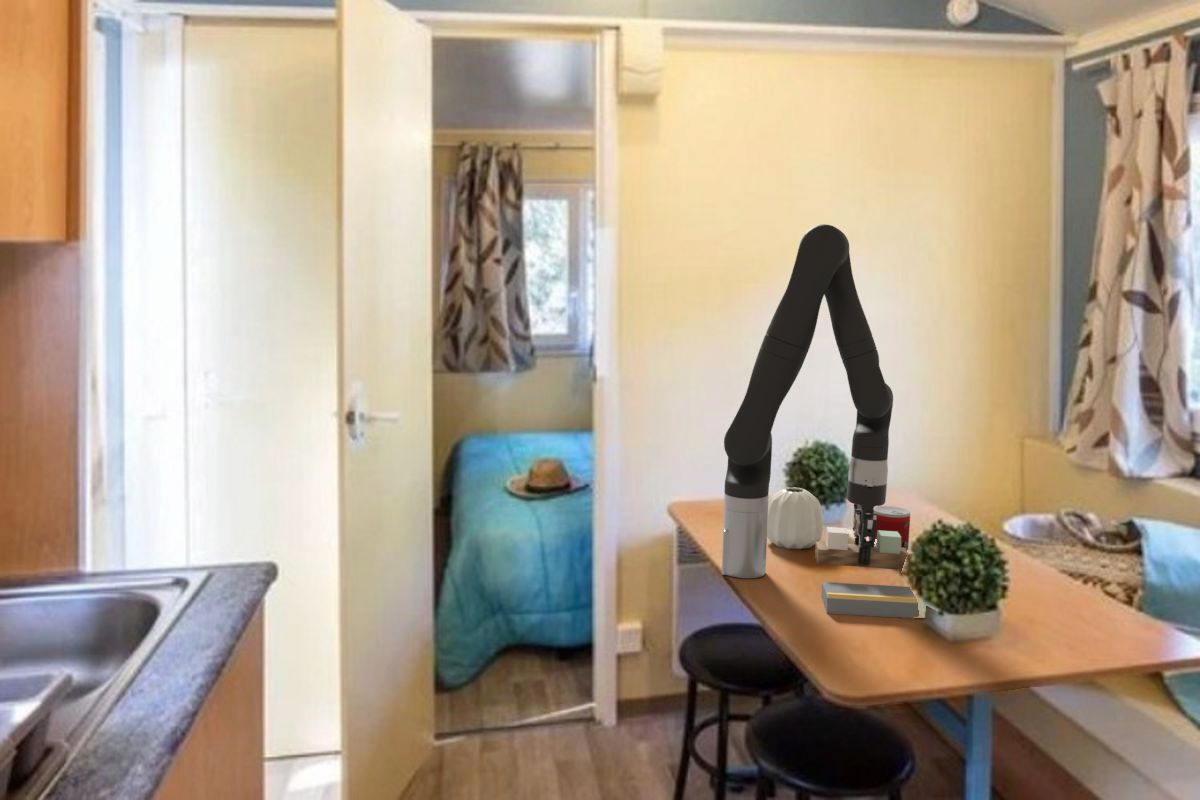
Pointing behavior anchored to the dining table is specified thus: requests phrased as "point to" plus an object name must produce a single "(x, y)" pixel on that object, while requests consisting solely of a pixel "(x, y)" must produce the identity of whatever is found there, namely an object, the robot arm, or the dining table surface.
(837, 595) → the block
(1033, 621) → the dining table surface
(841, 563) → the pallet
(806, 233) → the robot arm
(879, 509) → the canned food
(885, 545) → the block
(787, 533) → the vase
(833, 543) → the block
